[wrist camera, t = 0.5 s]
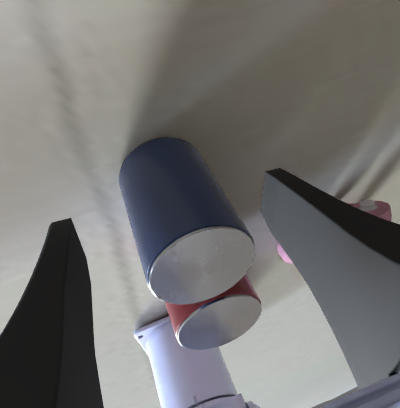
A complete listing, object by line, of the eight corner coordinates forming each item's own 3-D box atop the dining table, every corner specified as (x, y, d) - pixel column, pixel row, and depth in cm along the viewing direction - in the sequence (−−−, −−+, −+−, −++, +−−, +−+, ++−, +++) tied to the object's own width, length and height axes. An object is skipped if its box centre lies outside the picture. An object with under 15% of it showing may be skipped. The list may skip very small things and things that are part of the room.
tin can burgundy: (220, 242, 31) (265, 327, 25) (157, 267, 30) (187, 361, 24) (209, 194, 27) (260, 282, 21) (136, 222, 26) (166, 322, 20)
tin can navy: (208, 191, 26) (259, 279, 20) (135, 219, 26) (164, 318, 20) (193, 124, 22) (252, 209, 16) (105, 155, 22) (131, 257, 15)
